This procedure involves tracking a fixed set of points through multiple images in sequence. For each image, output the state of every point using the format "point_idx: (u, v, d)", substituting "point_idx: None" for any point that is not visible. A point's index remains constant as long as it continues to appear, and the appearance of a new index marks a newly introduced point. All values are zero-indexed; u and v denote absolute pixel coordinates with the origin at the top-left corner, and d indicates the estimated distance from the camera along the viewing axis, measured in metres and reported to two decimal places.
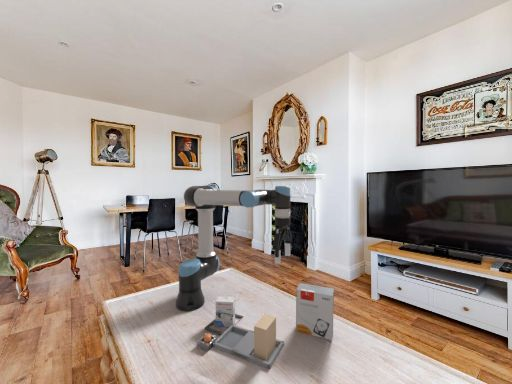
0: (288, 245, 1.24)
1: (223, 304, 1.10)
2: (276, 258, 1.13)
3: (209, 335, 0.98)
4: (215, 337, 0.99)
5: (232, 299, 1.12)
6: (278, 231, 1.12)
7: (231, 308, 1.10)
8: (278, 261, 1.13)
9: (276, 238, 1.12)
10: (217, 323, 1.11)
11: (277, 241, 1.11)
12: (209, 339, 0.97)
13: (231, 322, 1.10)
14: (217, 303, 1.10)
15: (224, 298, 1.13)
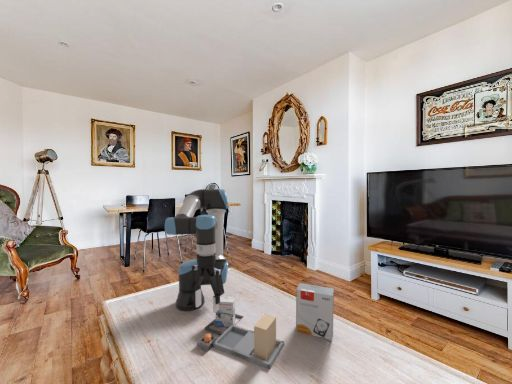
0: None
1: (223, 304, 1.10)
2: None
3: (209, 335, 0.98)
4: (215, 337, 0.99)
5: (232, 299, 1.12)
6: None
7: (231, 308, 1.10)
8: None
9: None
10: (217, 323, 1.11)
11: None
12: (209, 339, 0.97)
13: (231, 322, 1.10)
14: None
15: (224, 298, 1.13)
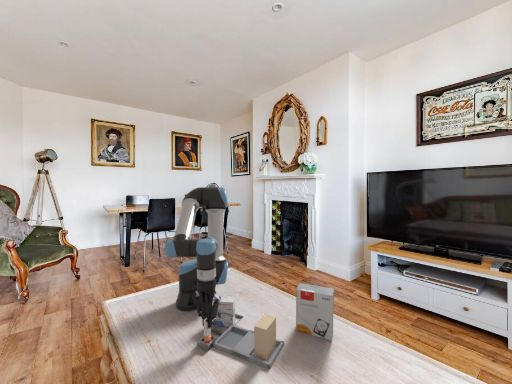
0: None
1: (223, 304, 1.10)
2: None
3: (209, 335, 0.98)
4: (215, 337, 0.99)
5: (232, 299, 1.12)
6: None
7: (231, 308, 1.10)
8: None
9: None
10: (217, 323, 1.11)
11: None
12: (209, 339, 0.97)
13: (231, 322, 1.10)
14: None
15: (224, 298, 1.13)
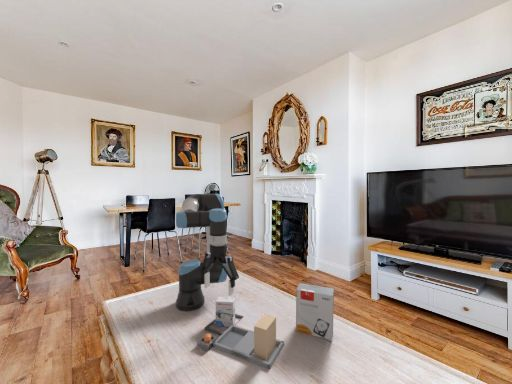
0: None
1: (223, 304, 1.10)
2: None
3: (209, 335, 0.98)
4: (215, 337, 0.99)
5: (232, 299, 1.12)
6: None
7: (231, 308, 1.10)
8: None
9: None
10: (217, 323, 1.11)
11: None
12: (209, 339, 0.97)
13: (231, 322, 1.10)
14: (217, 303, 1.10)
15: (224, 298, 1.13)
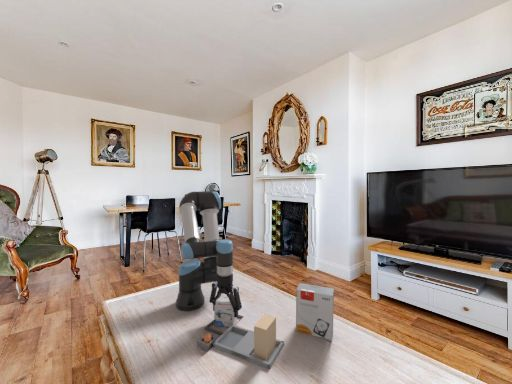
0: None
1: (223, 304, 1.10)
2: None
3: (209, 335, 0.98)
4: (215, 337, 0.99)
5: None
6: None
7: (231, 308, 1.10)
8: None
9: None
10: (217, 323, 1.11)
11: None
12: (209, 339, 0.97)
13: (231, 322, 1.10)
14: (217, 303, 1.10)
15: (224, 298, 1.13)
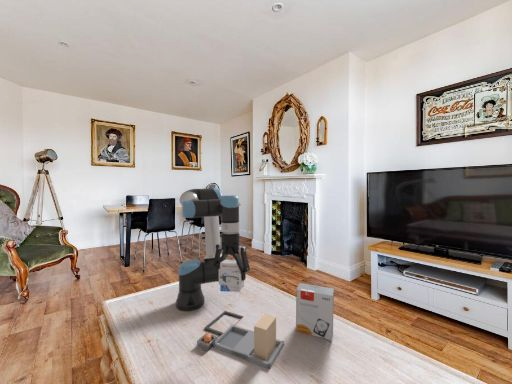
0: None
1: (229, 266, 0.98)
2: None
3: (209, 335, 0.98)
4: (215, 337, 0.99)
5: None
6: None
7: (238, 270, 0.98)
8: None
9: None
10: (222, 288, 0.98)
11: None
12: (209, 339, 0.97)
13: (238, 286, 0.97)
14: (222, 265, 0.98)
15: (229, 260, 1.01)
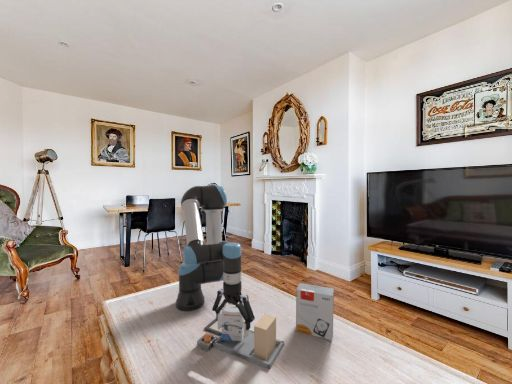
0: None
1: (231, 314, 0.97)
2: None
3: (209, 335, 0.98)
4: (215, 337, 0.99)
5: None
6: None
7: (240, 319, 0.96)
8: None
9: None
10: (224, 336, 0.97)
11: None
12: (209, 339, 0.97)
13: (240, 335, 0.96)
14: (224, 314, 0.97)
15: (231, 308, 1.00)
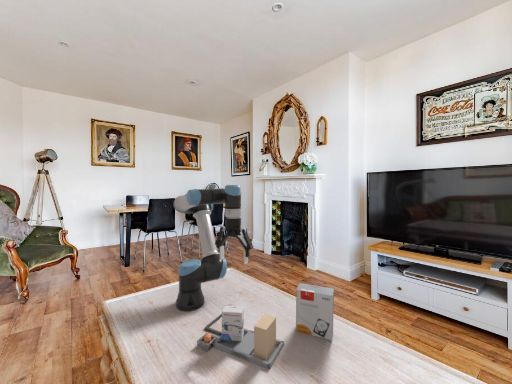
0: None
1: (231, 314, 0.97)
2: None
3: (209, 335, 0.98)
4: (215, 337, 0.99)
5: (240, 309, 0.99)
6: None
7: (240, 319, 0.96)
8: None
9: None
10: (224, 336, 0.97)
11: None
12: (209, 339, 0.97)
13: (240, 335, 0.96)
14: (224, 314, 0.97)
15: (231, 308, 1.00)
